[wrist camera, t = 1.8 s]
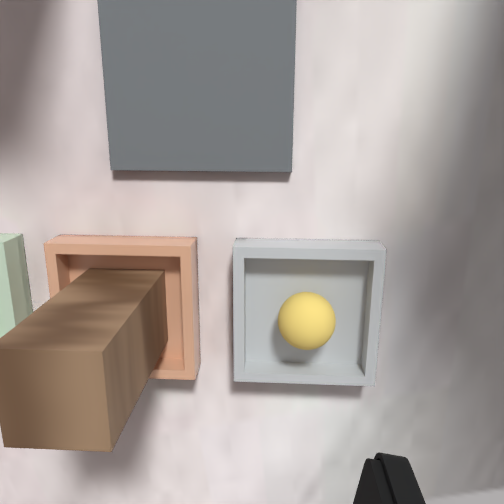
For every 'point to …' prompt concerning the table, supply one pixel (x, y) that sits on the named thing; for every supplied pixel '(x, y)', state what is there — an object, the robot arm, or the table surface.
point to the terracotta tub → (141, 257)
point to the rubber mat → (199, 84)
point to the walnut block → (82, 361)
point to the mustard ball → (306, 320)
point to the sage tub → (13, 283)
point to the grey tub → (307, 280)
